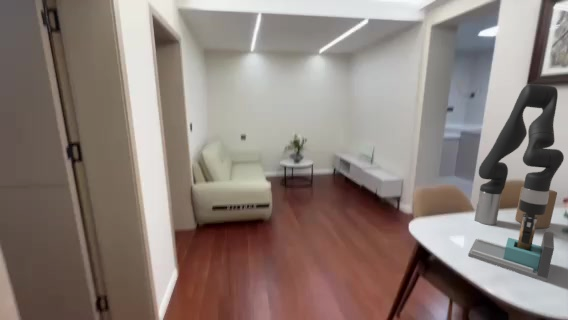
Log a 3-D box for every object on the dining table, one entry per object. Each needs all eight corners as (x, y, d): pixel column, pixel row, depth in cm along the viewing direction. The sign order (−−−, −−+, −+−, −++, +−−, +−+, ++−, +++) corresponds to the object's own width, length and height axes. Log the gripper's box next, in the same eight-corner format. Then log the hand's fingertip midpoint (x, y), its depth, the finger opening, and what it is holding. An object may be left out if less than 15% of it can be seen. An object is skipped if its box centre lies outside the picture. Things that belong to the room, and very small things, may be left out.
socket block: (503, 260, 105) (505, 246, 104) (505, 250, 112) (508, 237, 110) (537, 270, 98) (540, 256, 97) (537, 259, 105) (540, 246, 103)
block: (530, 229, 133) (538, 192, 128) (513, 220, 143) (520, 185, 138) (550, 228, 133) (558, 191, 128) (532, 220, 143) (539, 185, 138)
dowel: (516, 251, 104) (522, 221, 101) (516, 247, 107) (522, 218, 104) (529, 255, 101) (536, 224, 98) (530, 251, 104) (536, 221, 101)
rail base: (468, 256, 111) (472, 227, 108) (475, 241, 122) (479, 215, 119) (546, 282, 94) (554, 248, 91) (546, 262, 105) (553, 232, 102)
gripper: (547, 208, 92) (537, 251, 95) (547, 197, 101) (538, 237, 105) (519, 202, 97) (510, 244, 100) (521, 192, 107) (514, 231, 110)
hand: (525, 240), depth 103 cm, fingers closed on dowel, 4 cm apart
